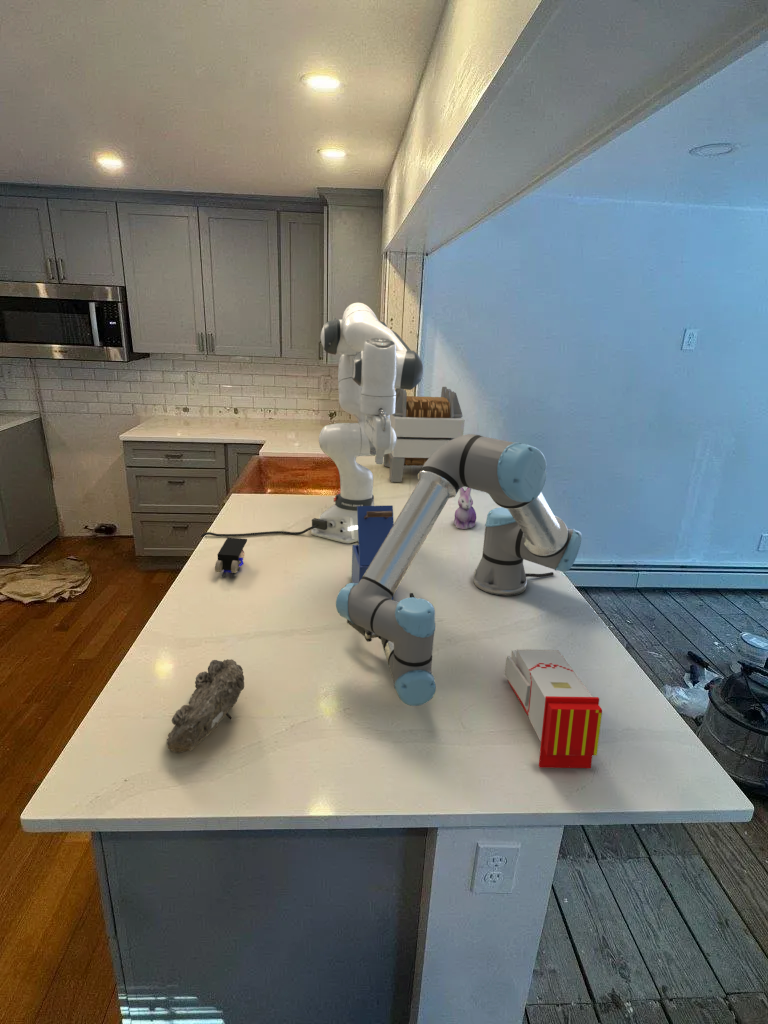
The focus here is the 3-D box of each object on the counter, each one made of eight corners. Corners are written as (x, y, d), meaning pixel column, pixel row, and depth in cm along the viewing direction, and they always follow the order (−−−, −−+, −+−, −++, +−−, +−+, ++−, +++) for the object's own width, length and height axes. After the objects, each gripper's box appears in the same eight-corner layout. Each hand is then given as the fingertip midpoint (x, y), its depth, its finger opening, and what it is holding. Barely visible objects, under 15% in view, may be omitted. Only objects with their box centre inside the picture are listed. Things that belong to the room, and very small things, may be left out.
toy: (554, 631, 124) (612, 705, 95) (548, 687, 127) (603, 776, 98) (499, 630, 124) (540, 704, 94) (495, 686, 126) (533, 775, 97)
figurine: (462, 531, 204) (465, 492, 199) (446, 522, 213) (449, 483, 207) (483, 528, 208) (487, 489, 203) (467, 518, 217) (470, 481, 212)
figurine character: (238, 584, 162) (249, 557, 175) (236, 562, 158) (247, 536, 172) (215, 584, 161) (227, 556, 175) (212, 561, 158) (225, 535, 171)
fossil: (192, 660, 117) (244, 628, 112) (224, 691, 120) (276, 661, 115) (142, 746, 98) (202, 712, 93) (182, 779, 101) (242, 748, 96)
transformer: (382, 463, 289) (386, 382, 275) (445, 464, 293) (451, 384, 279) (390, 482, 257) (394, 392, 243) (460, 483, 261) (468, 394, 247)
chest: (351, 578, 166) (352, 545, 162) (383, 576, 167) (385, 544, 164) (358, 603, 152) (359, 567, 148) (393, 601, 154) (395, 566, 150)
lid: (356, 506, 151) (360, 501, 143) (392, 506, 153) (397, 500, 145) (359, 565, 149) (363, 563, 141) (394, 564, 150) (400, 562, 143)
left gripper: (398, 413, 134) (395, 469, 139) (383, 399, 153) (381, 449, 158) (372, 412, 133) (370, 469, 138) (360, 399, 152) (358, 449, 157)
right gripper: (342, 666, 120) (333, 615, 139) (456, 658, 124) (431, 609, 144) (343, 635, 117) (333, 587, 137) (459, 628, 122) (434, 583, 141)
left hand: (375, 458), depth 148 cm, fingers open, 8 cm apart
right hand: (384, 599), depth 140 cm, fingers open, 13 cm apart
